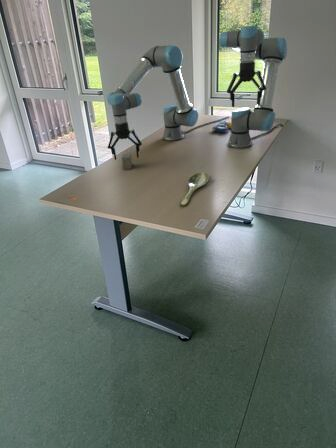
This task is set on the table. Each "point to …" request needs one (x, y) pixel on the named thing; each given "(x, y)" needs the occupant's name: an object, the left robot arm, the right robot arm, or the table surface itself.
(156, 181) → the table surface
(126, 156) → the brick
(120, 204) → the table surface
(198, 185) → the spoon
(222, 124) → the spray gun
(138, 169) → the table surface
